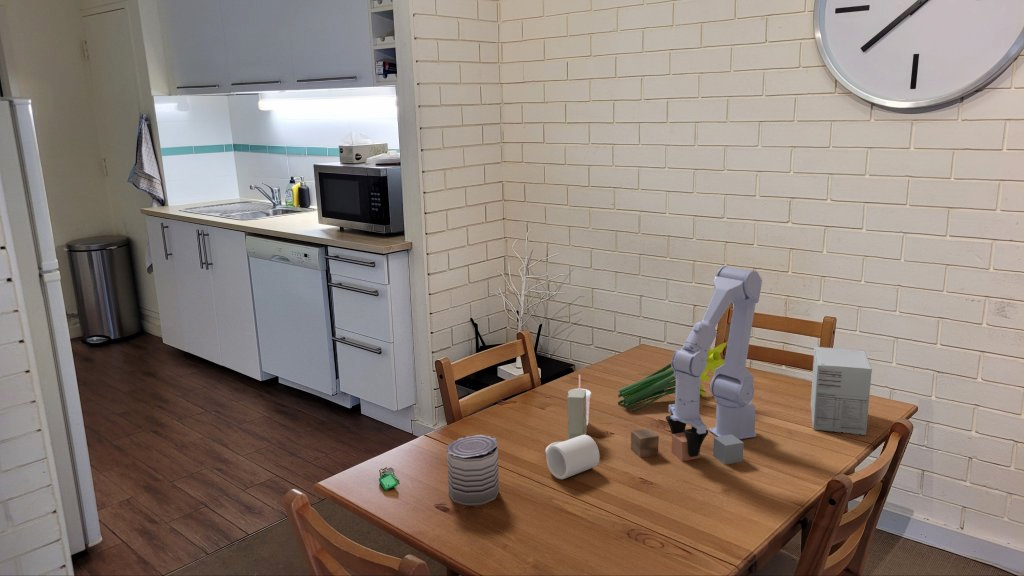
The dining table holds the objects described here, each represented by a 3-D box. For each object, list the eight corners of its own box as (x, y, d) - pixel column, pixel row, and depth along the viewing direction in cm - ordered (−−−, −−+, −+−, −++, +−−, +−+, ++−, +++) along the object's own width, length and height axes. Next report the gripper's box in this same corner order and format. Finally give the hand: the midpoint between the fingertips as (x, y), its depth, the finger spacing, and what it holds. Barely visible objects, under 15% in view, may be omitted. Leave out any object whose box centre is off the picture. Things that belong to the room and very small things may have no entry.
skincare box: (584, 442, 194) (584, 398, 191) (567, 441, 194) (566, 397, 192) (586, 432, 200) (586, 389, 197) (570, 431, 200) (569, 388, 198)
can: (480, 510, 161) (478, 459, 159) (438, 497, 167) (435, 447, 164) (508, 488, 171) (507, 439, 168) (467, 476, 177) (466, 429, 174)
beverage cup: (565, 426, 204) (565, 377, 201) (572, 417, 209) (572, 370, 206) (587, 429, 202) (587, 379, 198) (593, 420, 207) (593, 372, 204)
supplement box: (867, 436, 194) (873, 369, 190) (812, 430, 198) (816, 365, 194) (860, 411, 210) (865, 349, 206) (809, 406, 214) (813, 345, 210)
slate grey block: (730, 453, 186) (731, 434, 185) (742, 461, 181) (743, 442, 180) (713, 456, 185) (713, 437, 183) (724, 465, 180) (725, 445, 179)
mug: (599, 472, 178) (600, 440, 176) (567, 484, 172) (567, 452, 170) (566, 454, 187) (566, 424, 185) (535, 466, 181) (534, 435, 180)
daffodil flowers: (607, 398, 226) (706, 355, 234) (632, 436, 217) (734, 390, 225) (609, 365, 213) (713, 321, 221) (635, 404, 204) (744, 357, 212)
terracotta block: (689, 449, 188) (689, 431, 187) (699, 458, 184) (700, 439, 182) (671, 452, 187) (671, 434, 186) (681, 461, 182) (682, 442, 181)
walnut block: (648, 446, 191) (649, 428, 189) (658, 454, 186) (658, 436, 185) (630, 449, 189) (631, 431, 188) (639, 457, 184) (640, 438, 183)
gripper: (658, 389, 187) (657, 440, 191) (688, 410, 174) (686, 464, 177) (683, 386, 189) (681, 436, 193) (714, 406, 176) (712, 460, 179)
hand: (685, 449), depth 185 cm, fingers open, 7 cm apart
